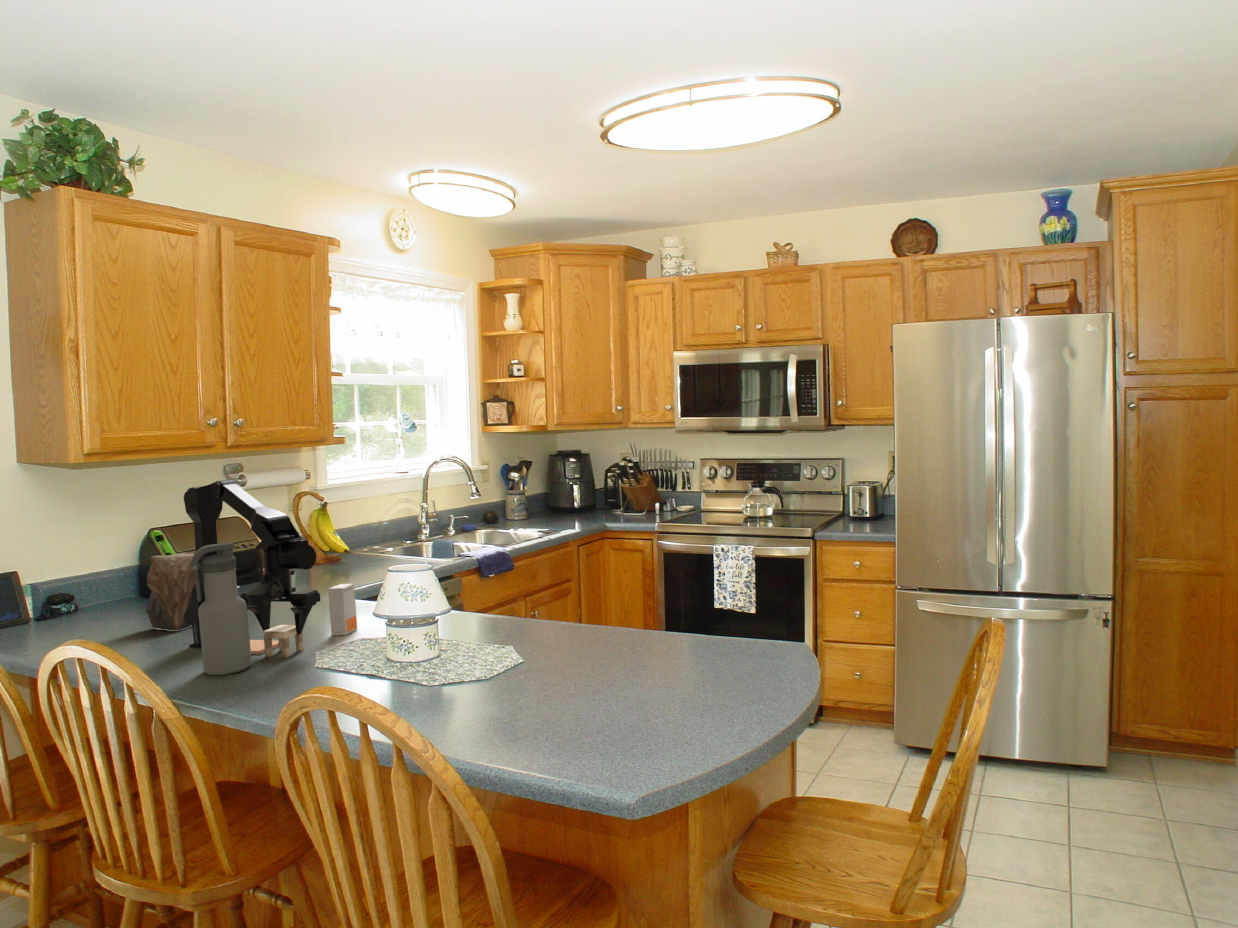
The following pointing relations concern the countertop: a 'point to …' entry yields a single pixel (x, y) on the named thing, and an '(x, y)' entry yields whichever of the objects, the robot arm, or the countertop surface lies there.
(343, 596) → the skincare box
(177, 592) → the tree stump
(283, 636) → the birch stool
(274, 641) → the trivet
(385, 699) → the countertop surface
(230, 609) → the water bottle
